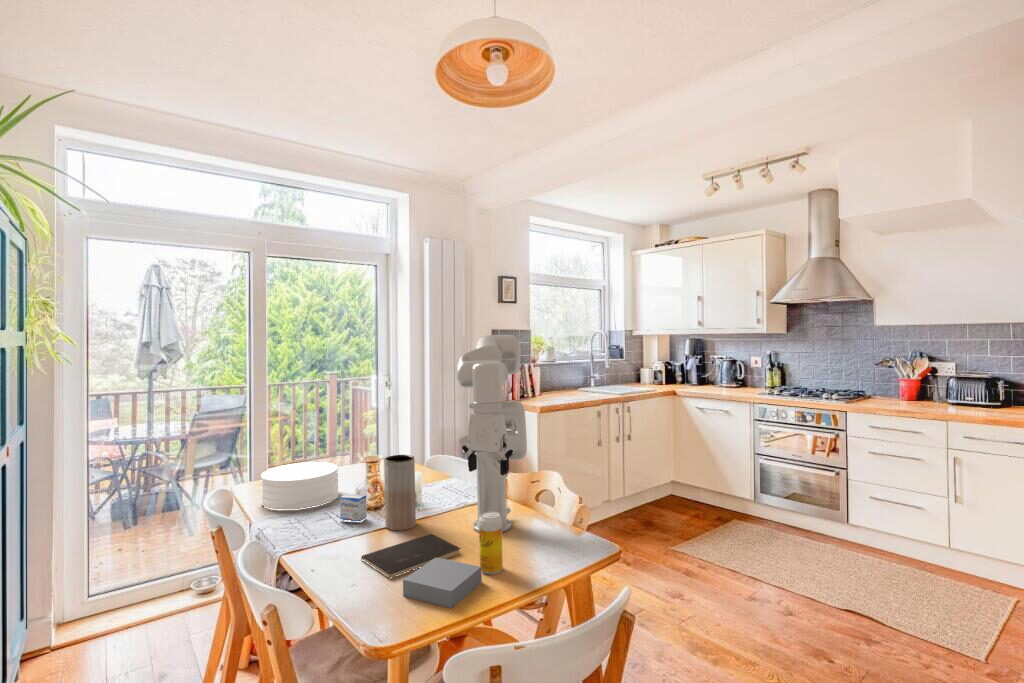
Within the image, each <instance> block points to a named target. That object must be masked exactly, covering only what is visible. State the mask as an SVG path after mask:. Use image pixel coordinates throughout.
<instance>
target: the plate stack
mask: <svg viewBox="0 0 1024 683" xmlns="http://www.w3.org/2000/svg"><path fill="white" fill-rule="evenodd" d="M338 471H339V467H338V465H336V464H334V463H330V462H323V461H321V462H320V461H316V462H315V461H309V462H295V463H291V464H284V465H279V466H275V467H272V468H270V469H267V470H266V471H265V470H264V471H263V472H262V473H261V474H260V480H261V481H260V483H261V484H260V486H261V488H260V490H261V492H260V493H261V495H260V496H261V506H262V505H264V506H265V507H268V508H273V509H300V508H307V507H312V506H317V505H321V504H324V503H327V502H330V501H332V500H334V499H335V500H337V499H338V497H339V479H338V478H339V473H338ZM336 498H337V499H336ZM335 500H334V501H335ZM332 502H333V501H332ZM330 503H331V502H330Z"/></svg>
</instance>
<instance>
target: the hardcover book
mask: <svg viewBox="0 0 1024 683" xmlns="http://www.w3.org/2000/svg"><path fill="white" fill-rule="evenodd" d="M460 550H461V547H459V546H458V545H455V544H453V543H452V542H449V541H447V540H445V539H443V538H441V537H439V536H437V535H435V534H432V533H429V534H426V535H423V536H420V537H416V538H413V539H409V540H406V541H403V542H401V543H398V544H394V545H391V546H388V547H385V548H382V549H379V550H378V549H377V550H376V551H372V552H370V553H366V554H363V555H361V558H360V559H361V560H362V559H363V560H365V561H366V562H368V563H369V564H370V565H372V566H373V567H375V568H376V569H378V570H379V571H381V572H382V573H384V574H385V575H387V576H388V577H389V578H391V577H394V576H396V575H399V574H402V573H404V572H407V571H410V570H413V569H416V568H419V567H422V566H424V565H425V564H427V563H428V562H430V561H431V560H433V559H434V558H436V557H437V558H442V559H444V558H446V559H448V558H447V557H449V558H451V557H450V556H452V557H454V556H456V554H457V555H459V554H460ZM453 555H454V556H453ZM416 570H417V569H416ZM413 571H414V570H413ZM402 575H403V574H402ZM389 578H388V579H389ZM394 578H395V577H394ZM391 579H392V578H391Z"/></svg>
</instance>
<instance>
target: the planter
mask: <svg viewBox="0 0 1024 683" xmlns="http://www.w3.org/2000/svg"><path fill="white" fill-rule="evenodd" d="M415 461H416V460H415V456H414V455H411V454H396V455H389V456H386V457H384V458H383V477H384V478H383V479H384V480H383V481H384V482H383V484H384V517H385V518H384V520H385V521H384V523H385V525H384V526H385V528H386V527H387V528H388V530H389V529H390V530H389V531H395V530H399V531H405V530H409V529H411V528H414V526H416V523H417V520H416V519H417V516H416V514H417V512H416V510H417V509H416V474H415V472H416V468H415V467H416V466H415V464H416V463H415ZM387 528H386V529H387Z"/></svg>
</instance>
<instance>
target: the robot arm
mask: <svg viewBox="0 0 1024 683" xmlns="http://www.w3.org/2000/svg"><path fill="white" fill-rule="evenodd" d="M521 351H522V349H521V343H520V341H519V339H518V338H517V336H516V335H514V334H492V335H491V334H489V335H484V336H482V337H480V338H479V339H478V340H477V342H476V346H475V349H473V350H470V351H467V352H466V353H464V354H462V355H461V356H460V358H459V360H458V363H457V369H456V379H457V380H456V381H457V382H458V384H459V386H460V387H462V388H472V402H471V403H469V406H468V407H469V409H471V410H472V413H470V414H469V420H468V425H467V426H468V427H467V435H465V436H463V437H461V438H459V444H460V446H461V447H462V448H461V449H462V450H463V451H464V453H465V456H466V457H467V465H468V466H467V467H468V472H469V473H470V472H474V471H476V496H477V498H476V499H477V501H476V502H477V520H475V521H474V522H473V524H472V527H473V529H474V530H475V531H476V532H478V533H479V518H480V515H481V514H482V513H484V512H498V513H499V514H500V516H501V518H502V533H504V532H507V531H509V530H510V529H511V528H512V521H511V520H509V519H507V516H508V514H510V513H511V511H512V510H511V508H510V507H509V506H508V507H507V476H506V475H507V474H508V473H509V472H510V471H509V470H510V461H515V460H517V461H518V460H522V459H524V458H525V457H526V456H527V450H528V440H527V423H526V412H525V407H524V405H523V403H522V402H520V401H517V400H503V399H504V398H503V395H504V394H503V393H504V391H503V388H502V386H504V384H505V383H506V381H507V380H508V375H515V374H518V372H519V371H520V368H521V355H522V354H521V353H522V352H521ZM498 461H499V462H498Z"/></svg>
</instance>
